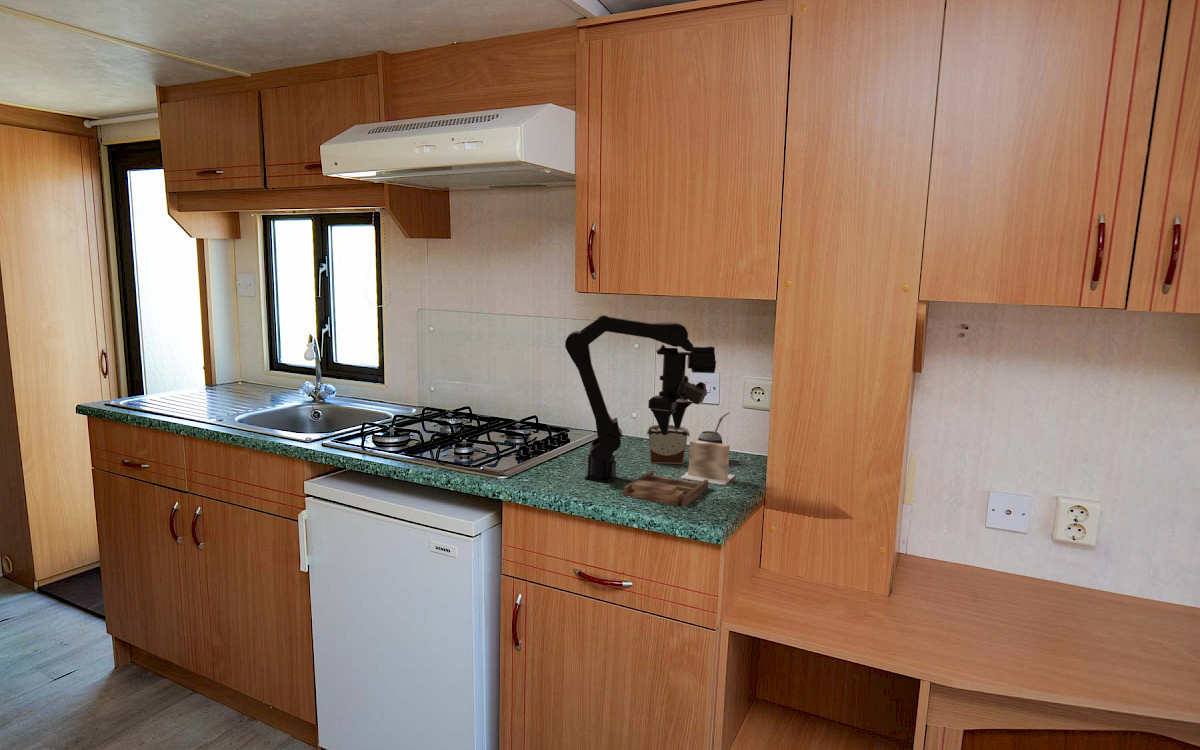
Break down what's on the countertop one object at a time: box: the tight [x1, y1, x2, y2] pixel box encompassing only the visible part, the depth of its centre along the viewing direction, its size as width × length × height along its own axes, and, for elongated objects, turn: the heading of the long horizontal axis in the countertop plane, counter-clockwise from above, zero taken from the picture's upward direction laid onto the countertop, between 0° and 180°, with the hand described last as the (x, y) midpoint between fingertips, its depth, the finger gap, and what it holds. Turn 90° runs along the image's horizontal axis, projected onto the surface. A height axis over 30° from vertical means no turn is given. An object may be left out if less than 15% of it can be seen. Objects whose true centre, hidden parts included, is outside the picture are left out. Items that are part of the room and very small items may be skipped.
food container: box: [646, 424, 691, 465], centre depth 205 cm, size 12×6×10 cm, turn 92°
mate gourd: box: [697, 412, 730, 444], centre depth 207 cm, size 8×8×15 cm
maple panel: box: [687, 439, 731, 481], centre depth 189 cm, size 10×3×9 cm, turn 63°
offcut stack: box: [626, 480, 684, 506], centre depth 171 cm, size 13×5×4 cm, turn 65°
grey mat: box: [679, 471, 736, 487], centre depth 190 cm, size 12×10×1 cm
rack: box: [622, 470, 709, 507], centre depth 176 cm, size 16×17×2 cm
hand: (671, 431), depth 184 cm, fingers open, 9 cm apart
